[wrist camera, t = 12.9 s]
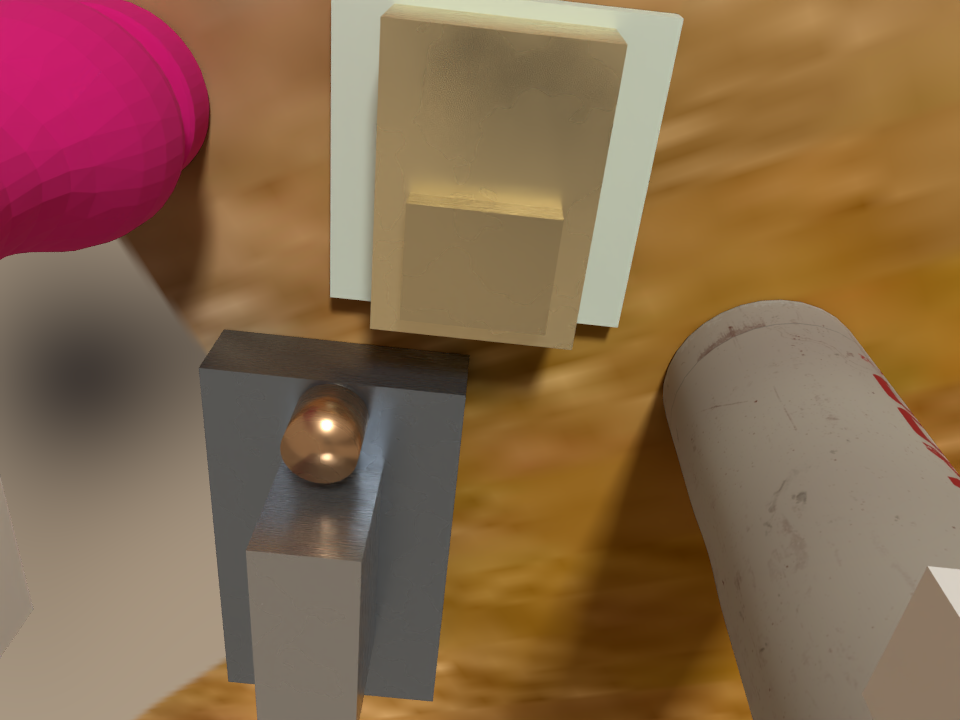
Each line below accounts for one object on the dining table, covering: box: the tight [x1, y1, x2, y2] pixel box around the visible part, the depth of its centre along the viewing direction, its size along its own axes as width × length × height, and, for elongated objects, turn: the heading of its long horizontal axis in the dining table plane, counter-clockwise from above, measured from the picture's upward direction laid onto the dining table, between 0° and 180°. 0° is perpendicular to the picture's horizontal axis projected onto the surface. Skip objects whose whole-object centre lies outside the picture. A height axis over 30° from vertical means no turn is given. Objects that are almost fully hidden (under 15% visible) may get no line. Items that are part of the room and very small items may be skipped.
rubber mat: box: [330, 0, 684, 327], centre depth 28 cm, size 11×11×1 cm
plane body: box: [199, 330, 470, 720], centre depth 34 cm, size 18×10×8 cm, turn 175°
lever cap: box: [370, 4, 628, 350], centre depth 26 cm, size 10×7×4 cm
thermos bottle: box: [663, 300, 960, 720], centre depth 21 cm, size 8×8×28 cm
